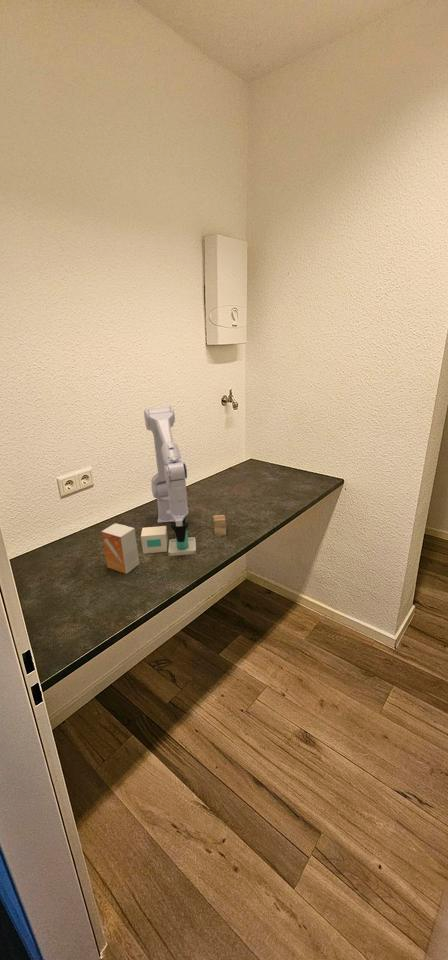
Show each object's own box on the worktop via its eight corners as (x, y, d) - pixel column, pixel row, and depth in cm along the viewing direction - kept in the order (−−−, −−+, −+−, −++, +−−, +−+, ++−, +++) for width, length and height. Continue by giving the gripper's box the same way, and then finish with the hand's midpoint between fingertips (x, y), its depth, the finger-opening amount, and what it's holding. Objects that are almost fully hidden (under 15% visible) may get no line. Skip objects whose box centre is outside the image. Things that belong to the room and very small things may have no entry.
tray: (169, 542, 137) (169, 539, 136) (195, 540, 138) (195, 537, 137) (168, 556, 128) (168, 553, 128) (196, 553, 129) (196, 550, 129)
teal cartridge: (177, 543, 135) (175, 528, 133) (189, 543, 135) (187, 527, 133) (176, 550, 131) (174, 534, 129) (188, 549, 131) (186, 533, 129)
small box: (106, 568, 124) (100, 531, 119) (121, 558, 129) (115, 522, 124) (126, 574, 120) (120, 536, 115) (140, 564, 125) (135, 527, 120)
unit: (144, 544, 137) (142, 527, 134) (168, 542, 137) (166, 525, 135) (142, 554, 130) (140, 536, 128) (167, 552, 131) (165, 534, 129)
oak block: (214, 530, 144) (213, 515, 142) (225, 529, 144) (224, 514, 142) (214, 535, 140) (214, 520, 138) (226, 534, 140) (225, 519, 138)
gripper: (166, 490, 133) (169, 526, 138) (164, 508, 120) (168, 547, 124) (187, 489, 134) (190, 524, 138) (187, 507, 120) (190, 546, 125)
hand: (181, 535), depth 131 cm, fingers open, 7 cm apart
